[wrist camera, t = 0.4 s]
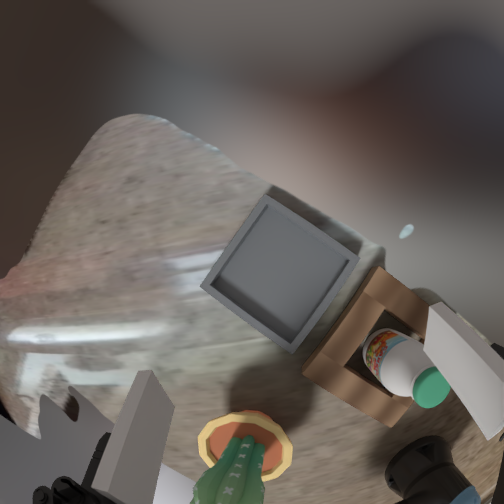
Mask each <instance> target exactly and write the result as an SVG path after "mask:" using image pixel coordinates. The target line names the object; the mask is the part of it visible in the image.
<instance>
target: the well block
mask: <svg viewBox="0 0 504 504" xmlns="http://www.w3.org/2000/svg"><path fill="white" fill-rule="evenodd" d="M429 306H430V305H428V304H427V303H426V302H425V301H423V300H422V299H421V298H420V297H419V296H417V295H416V294H415V293H414V292H412V291H411V290H410V289H408V288H407V287H406V286H405V285H403V284H402V283H401V282H399V281H398V280H397V279H395V278H394V277H393V276H392V275H390V274H389V273H388V272H386V271H385V270H384V269H382V268H381V267H380V266H377V267H372V268H371V270H370V272H369V273H368V275H367V276H366V278H365V280H364V281H363V283H362V284H361V286H360V287H359V289H358V290H357V292H356V293H355V295H354V296H353V298H352V299H351V301H350V302H349V304H348V305H347V307H346V308H345V310H344V311H343V312H342V314H341V315H340V317H339V318H338V319H337V321H336V322H335V324H334V325H333V326H332V328H331V329H330V331H329V332H328V333H327V335H326V336H325V337H324V339H323V340H322V341H321V343H320V344H319V345H318V346H317V348H316V349H315V350H314V352H313V353H312V354H311V355H310V357H309V358H308V359H307V360H306V362H305V363H304V364H303V365H302V367H301V368H302V375H304V376H305V377H307V378H308V379H310V380H311V381H313V382H314V383H316V384H317V385H319V386H321V387H322V388H324V389H325V390H327V391H328V392H330V393H332V394H333V395H335V396H337V397H338V398H340V399H341V400H343V401H345V402H346V403H348V404H350V405H351V406H353V407H355V408H357V409H358V410H360V411H362V412H363V413H365V414H367V415H369V416H370V417H372V418H374V419H376V420H378V421H379V422H381V423H383V424H385V425H387V426H389V427H390V428H392V427H393V426H394V424H395V423H396V422H397V421H398V420H399V419H400V418H401V416H402V415H403V414H404V413H405V412H406V411H407V409H408V408H409V407H410V406H411V404H412V403H413V402H414V401H415V400H413V398H412V397H411V396H409V397H404V396H398V395H396V394H393V393H392V392H390V391H389V390H388V389H387V388H386V389H383V388H382V387H380V386H378V385H377V384H375V383H374V382H372V381H371V380H369V379H368V378H366V377H364V376H363V375H361V374H360V373H358V372H357V371H355V370H354V369H352V368H351V367H349V366H348V365H346V362H347V361H348V360H349V359H350V357H351V356H352V355H353V353H354V352H355V351H356V349H357V348H358V347H359V345H360V344H361V342H362V341H363V340H364V338H365V337H366V335H367V334H368V333H369V331H370V330H371V328H372V327H373V325H374V324H375V322H376V321H377V320H378V318H379V317H380V315H381V313H382V312H383V310H385V311H386V312H388V313H389V314H390V315H392V316H393V317H394V318H396V319H397V320H398V321H400V322H401V323H402V324H404V325H405V326H406V327H408V328H409V329H410V330H412V331H413V332H414V333H416V334H417V335H418V336H419V337H421V340H420V343H422V344H424V342H425V336H426V329H427V322H428V314H429Z"/></svg>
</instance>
